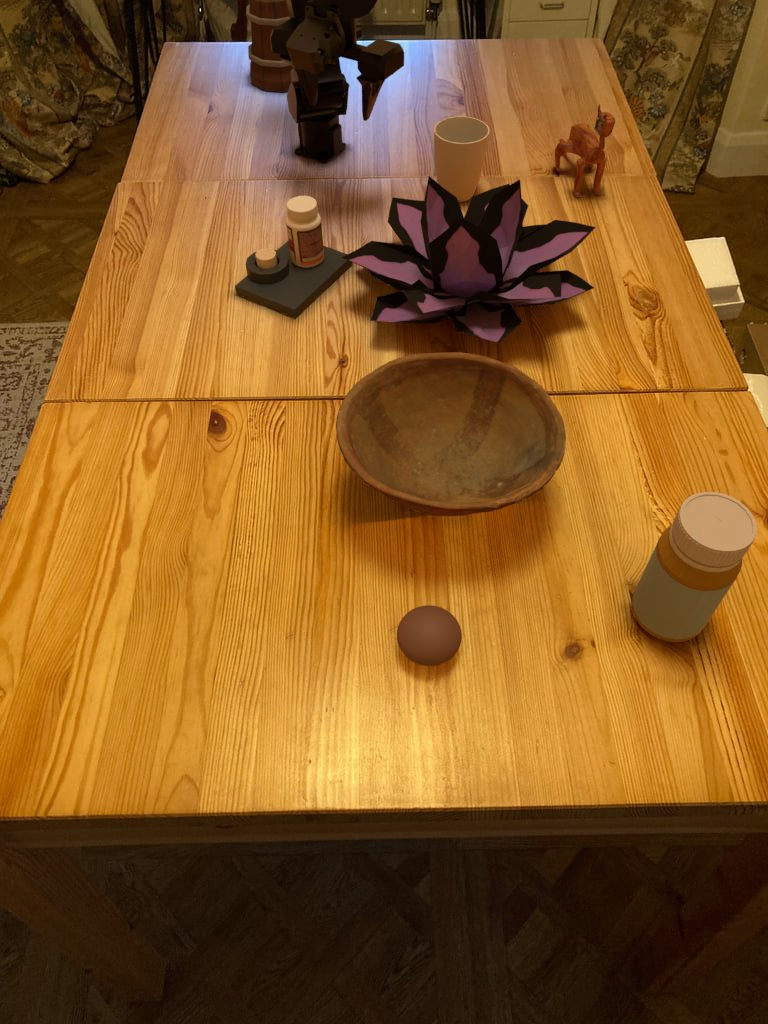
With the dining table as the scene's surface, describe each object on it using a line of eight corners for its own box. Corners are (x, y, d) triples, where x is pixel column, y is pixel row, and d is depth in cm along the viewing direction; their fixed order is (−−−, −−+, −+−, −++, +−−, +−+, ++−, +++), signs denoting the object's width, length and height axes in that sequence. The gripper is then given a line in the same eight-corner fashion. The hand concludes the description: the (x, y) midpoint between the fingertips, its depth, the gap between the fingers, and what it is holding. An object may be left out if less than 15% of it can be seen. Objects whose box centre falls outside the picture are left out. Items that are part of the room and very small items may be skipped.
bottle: (621, 585, 76) (662, 490, 64) (689, 579, 77) (744, 484, 65) (641, 648, 72) (689, 559, 60) (713, 642, 72) (776, 552, 60)
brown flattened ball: (452, 614, 75) (455, 592, 71) (466, 669, 71) (469, 649, 68) (391, 622, 74) (391, 601, 71) (402, 678, 70) (402, 658, 67)
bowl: (493, 606, 75) (505, 548, 67) (303, 509, 82) (293, 447, 75) (582, 462, 86) (601, 398, 78) (407, 389, 94) (409, 323, 86)
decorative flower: (333, 368, 96) (317, 260, 85) (367, 236, 117) (358, 135, 106) (596, 373, 92) (615, 261, 81) (583, 236, 113) (597, 131, 102)
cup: (483, 180, 123) (489, 117, 115) (482, 208, 118) (489, 144, 110) (432, 178, 123) (435, 115, 115) (429, 206, 118) (432, 142, 110)
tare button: (252, 265, 105) (251, 255, 104) (265, 255, 106) (263, 245, 105) (269, 272, 104) (267, 262, 103) (281, 261, 105) (280, 251, 104)
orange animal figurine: (540, 148, 129) (553, 60, 118) (578, 144, 129) (595, 57, 118) (572, 206, 118) (590, 115, 107) (613, 202, 118) (635, 112, 107)
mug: (251, 94, 141) (239, 2, 130) (251, 66, 149) (238, -24, 137) (336, 89, 142) (331, -3, 130) (331, 61, 150) (326, -29, 138)
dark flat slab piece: (231, 292, 106) (227, 274, 103) (290, 241, 113) (288, 223, 110) (295, 318, 102) (293, 299, 100) (352, 264, 109) (351, 245, 107)
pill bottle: (330, 253, 109) (326, 198, 102) (314, 272, 106) (309, 216, 99) (300, 245, 110) (294, 190, 103) (284, 263, 107) (277, 208, 101)
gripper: (237, -4, 98) (255, 119, 111) (360, 25, 92) (364, 152, 105) (288, -32, 104) (299, 88, 117) (407, -6, 98) (405, 118, 110)
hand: (339, 111), depth 112 cm, fingers open, 9 cm apart
